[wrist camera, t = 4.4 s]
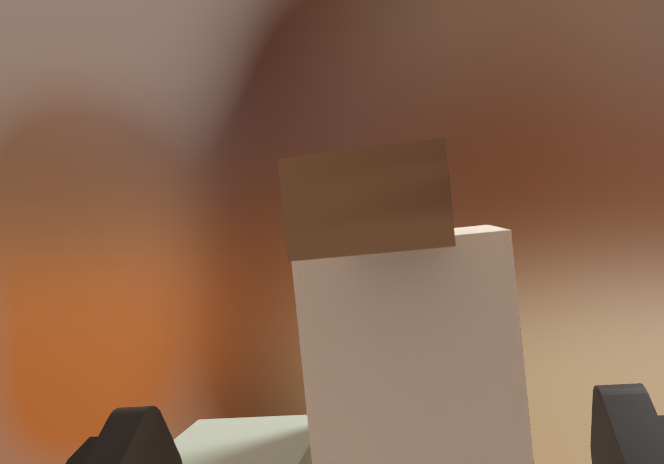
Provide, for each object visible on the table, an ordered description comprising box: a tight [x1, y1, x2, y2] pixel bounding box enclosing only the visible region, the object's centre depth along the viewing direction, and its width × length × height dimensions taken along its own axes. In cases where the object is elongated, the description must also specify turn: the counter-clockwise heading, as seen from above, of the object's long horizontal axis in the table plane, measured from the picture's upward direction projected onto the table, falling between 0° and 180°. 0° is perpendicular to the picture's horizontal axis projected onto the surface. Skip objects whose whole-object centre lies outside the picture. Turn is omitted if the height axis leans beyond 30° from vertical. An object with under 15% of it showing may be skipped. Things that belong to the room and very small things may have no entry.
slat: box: [278, 138, 456, 261], centre depth 24 cm, size 20×4×2 cm, turn 169°
